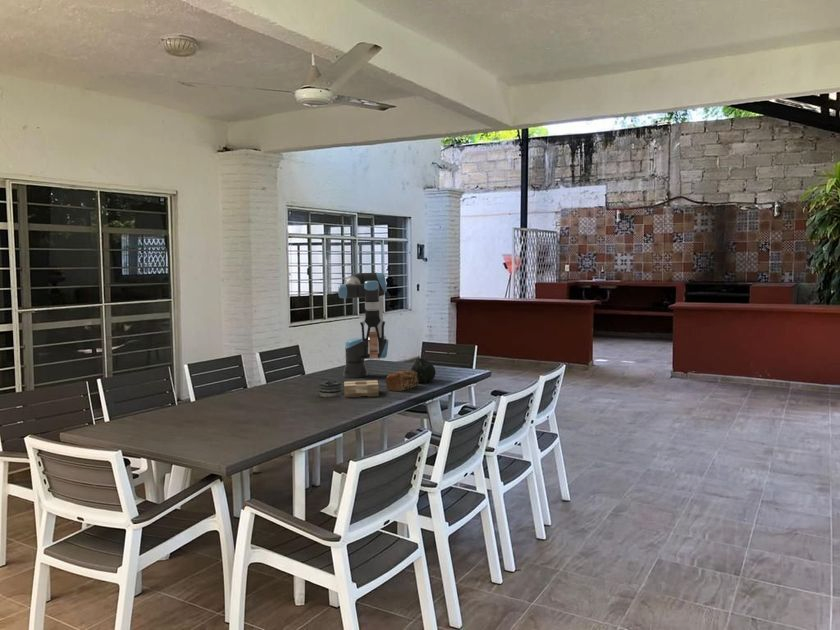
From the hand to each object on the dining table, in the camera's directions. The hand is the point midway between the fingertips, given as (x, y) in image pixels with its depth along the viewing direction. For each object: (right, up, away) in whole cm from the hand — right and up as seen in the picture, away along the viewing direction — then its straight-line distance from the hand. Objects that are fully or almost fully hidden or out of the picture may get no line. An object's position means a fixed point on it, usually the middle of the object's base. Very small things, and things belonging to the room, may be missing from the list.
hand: (373, 353), depth 352 cm
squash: (+27, -19, +33) cm, 47 cm away
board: (-7, -22, +2) cm, 23 cm away
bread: (+15, -21, +16) cm, 31 cm away
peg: (0, -3, 0) cm, 3 cm away
